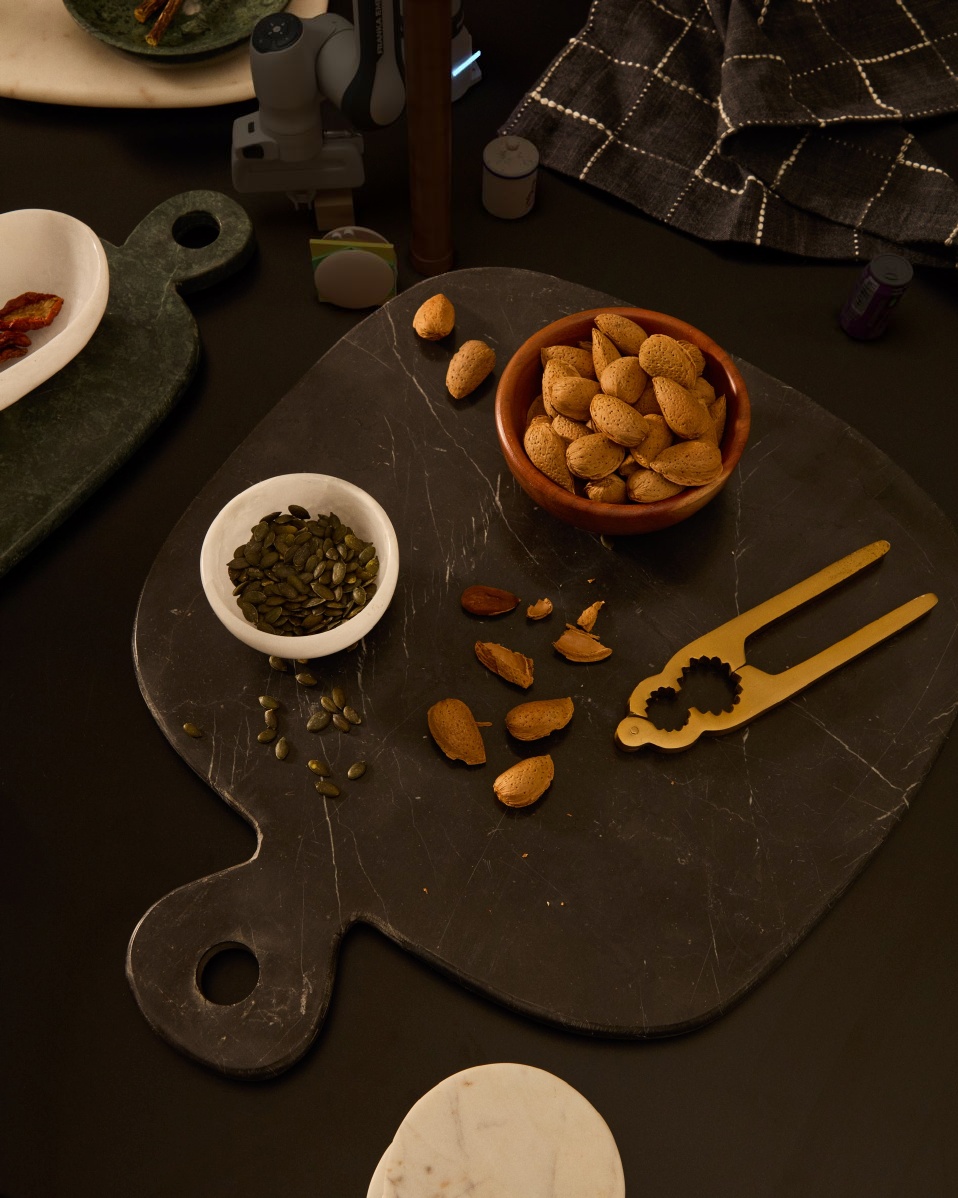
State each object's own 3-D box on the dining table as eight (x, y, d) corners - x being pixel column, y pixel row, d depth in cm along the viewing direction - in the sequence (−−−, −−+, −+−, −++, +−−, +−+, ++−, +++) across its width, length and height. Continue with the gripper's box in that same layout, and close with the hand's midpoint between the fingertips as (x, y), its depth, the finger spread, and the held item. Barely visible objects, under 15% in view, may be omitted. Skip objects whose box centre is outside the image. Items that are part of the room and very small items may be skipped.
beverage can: (882, 346, 150) (916, 290, 139) (836, 338, 151) (866, 282, 140) (883, 311, 153) (916, 254, 142) (838, 303, 154) (868, 246, 143)
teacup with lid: (537, 220, 159) (544, 161, 149) (482, 221, 159) (484, 162, 148) (531, 168, 165) (537, 107, 154) (477, 169, 164) (479, 108, 154)
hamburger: (400, 276, 153) (396, 217, 143) (395, 317, 150) (391, 259, 139) (324, 271, 153) (314, 211, 143) (317, 312, 150) (307, 254, 139)
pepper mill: (408, 245, 156) (392, -91, 111) (450, 242, 157) (452, -94, 111) (412, 277, 153) (398, -54, 108) (455, 274, 154) (459, -57, 108)
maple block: (316, 204, 160) (312, 179, 155) (352, 201, 160) (350, 176, 156) (318, 231, 157) (314, 206, 153) (355, 228, 158) (352, 203, 153)
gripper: (361, 114, 146) (367, 189, 158) (223, 120, 144) (239, 196, 156) (364, 143, 143) (370, 217, 156) (223, 150, 141) (240, 224, 154)
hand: (303, 207), depth 156 cm, fingers closed
